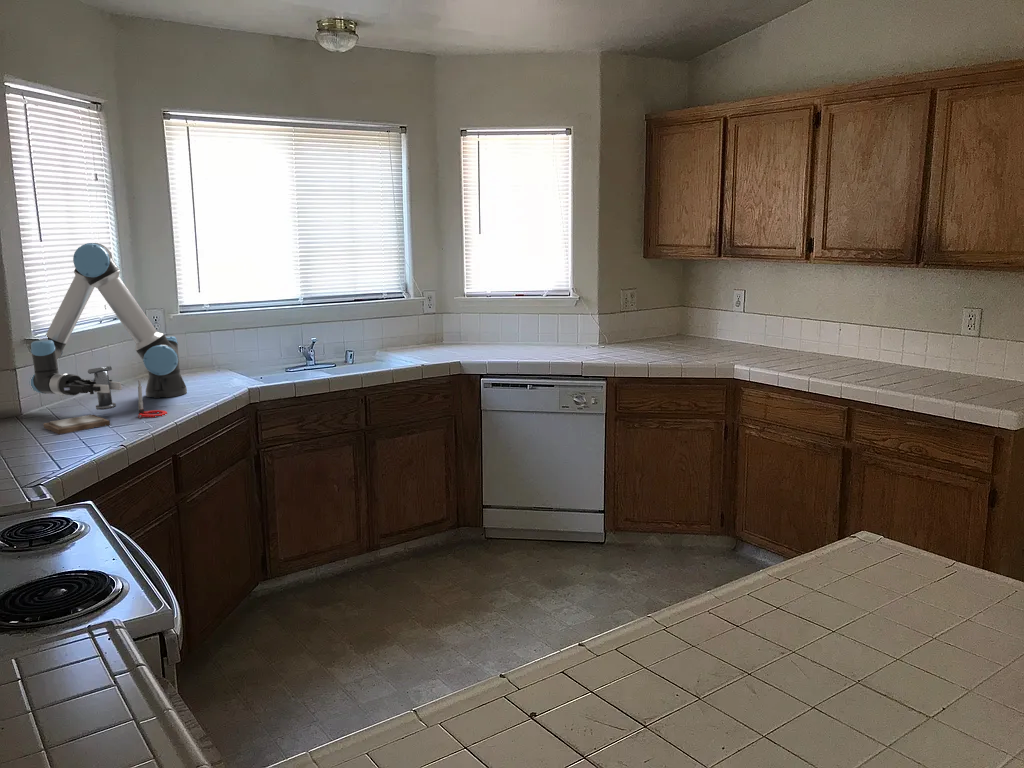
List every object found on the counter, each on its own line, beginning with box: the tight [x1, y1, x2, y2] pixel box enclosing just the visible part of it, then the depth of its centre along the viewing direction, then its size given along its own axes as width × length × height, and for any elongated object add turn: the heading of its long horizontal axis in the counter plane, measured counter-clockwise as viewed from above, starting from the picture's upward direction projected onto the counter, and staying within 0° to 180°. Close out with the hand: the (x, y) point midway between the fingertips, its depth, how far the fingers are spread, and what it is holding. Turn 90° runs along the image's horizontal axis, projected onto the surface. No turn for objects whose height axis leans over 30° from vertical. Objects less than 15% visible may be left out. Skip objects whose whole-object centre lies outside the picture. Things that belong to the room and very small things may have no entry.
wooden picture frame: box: [42, 414, 111, 435], centre depth 278 cm, size 16×14×2 cm
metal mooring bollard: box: [87, 365, 117, 411], centre depth 291 cm, size 8×6×14 cm
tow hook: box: [137, 379, 168, 419], centre depth 292 cm, size 8×13×9 cm
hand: (114, 387), depth 289 cm, fingers closed on metal mooring bollard, 4 cm apart
